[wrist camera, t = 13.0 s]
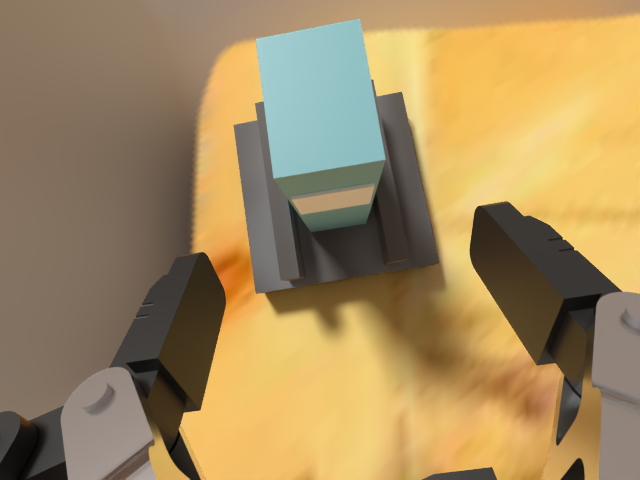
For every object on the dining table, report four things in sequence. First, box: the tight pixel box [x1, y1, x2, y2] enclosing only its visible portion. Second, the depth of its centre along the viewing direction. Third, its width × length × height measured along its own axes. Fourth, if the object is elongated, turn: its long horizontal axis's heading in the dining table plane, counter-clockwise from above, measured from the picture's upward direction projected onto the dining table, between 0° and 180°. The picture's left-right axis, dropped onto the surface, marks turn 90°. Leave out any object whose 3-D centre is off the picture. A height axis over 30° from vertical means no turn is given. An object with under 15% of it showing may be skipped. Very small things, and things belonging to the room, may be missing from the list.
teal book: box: [256, 19, 386, 232], centre depth 18 cm, size 4×6×12 cm
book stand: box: [234, 80, 439, 294], centre depth 23 cm, size 13×13×5 cm
